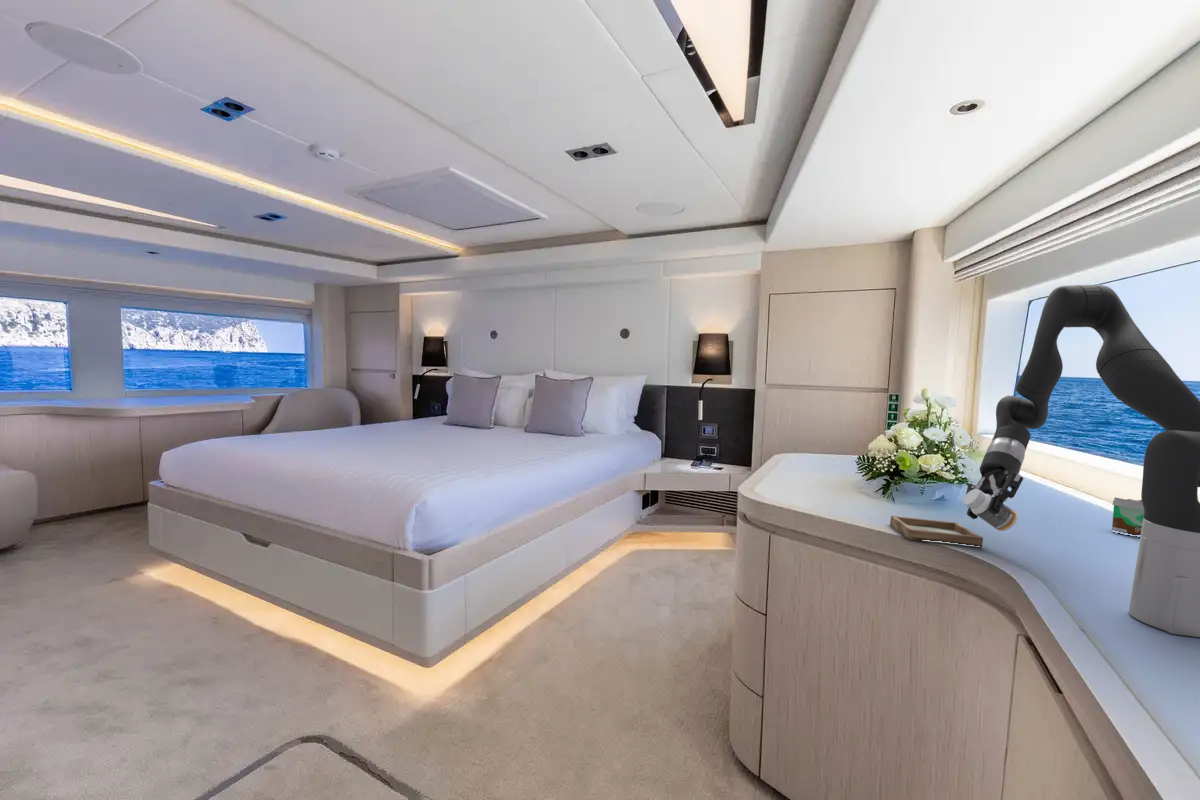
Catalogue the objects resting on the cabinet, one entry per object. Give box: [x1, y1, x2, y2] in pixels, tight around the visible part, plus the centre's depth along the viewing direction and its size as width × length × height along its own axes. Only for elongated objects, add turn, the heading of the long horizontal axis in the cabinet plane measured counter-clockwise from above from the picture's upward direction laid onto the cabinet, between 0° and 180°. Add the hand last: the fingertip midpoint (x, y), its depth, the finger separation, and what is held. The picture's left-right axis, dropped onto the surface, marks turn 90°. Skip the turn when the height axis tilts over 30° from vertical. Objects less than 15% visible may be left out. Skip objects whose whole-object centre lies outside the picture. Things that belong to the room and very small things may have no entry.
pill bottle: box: [962, 489, 1019, 532], centre depth 124 cm, size 6×6×10 cm
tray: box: [889, 515, 984, 548], centre depth 131 cm, size 12×16×2 cm
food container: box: [1111, 497, 1144, 535], centre depth 144 cm, size 12×6×10 cm, turn 105°
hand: (982, 514), depth 123 cm, fingers closed on pill bottle, 5 cm apart
